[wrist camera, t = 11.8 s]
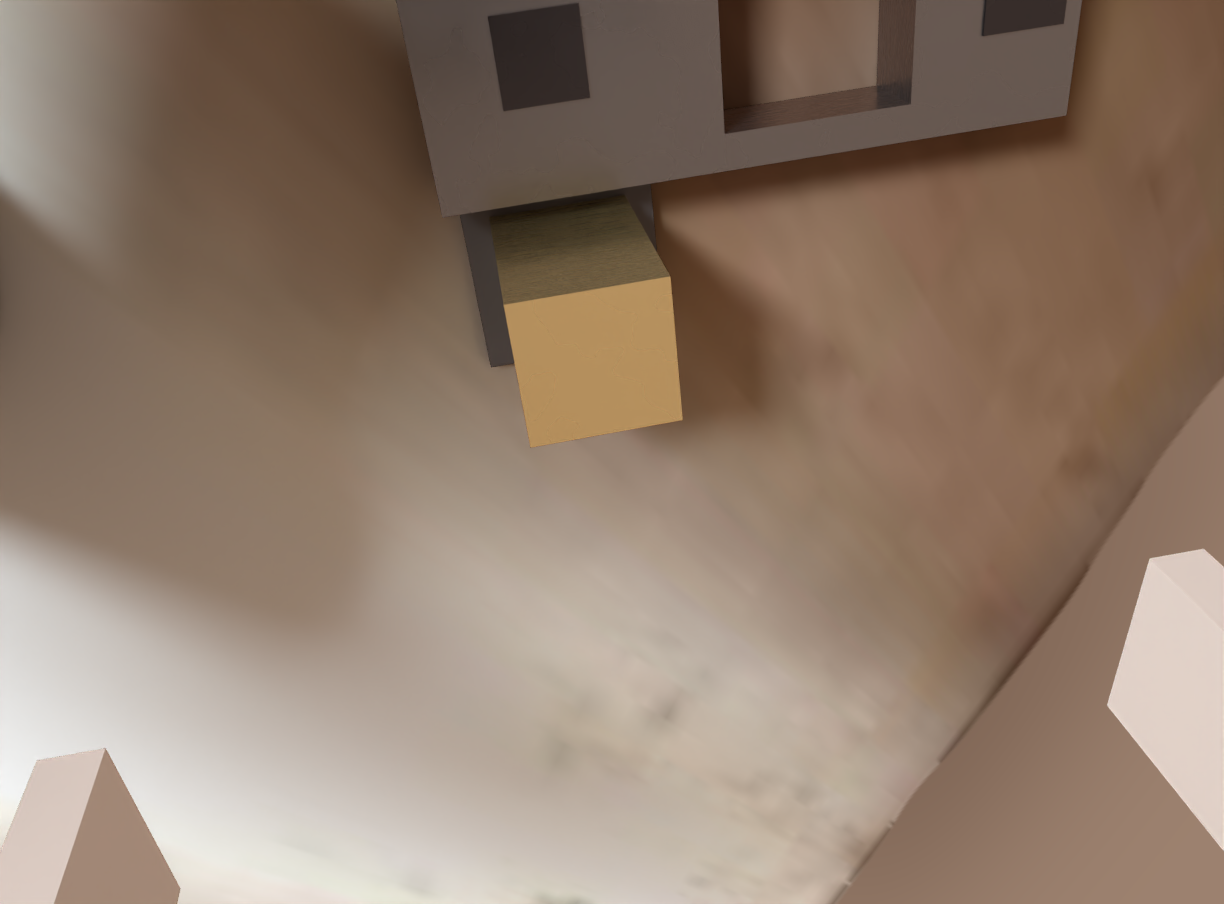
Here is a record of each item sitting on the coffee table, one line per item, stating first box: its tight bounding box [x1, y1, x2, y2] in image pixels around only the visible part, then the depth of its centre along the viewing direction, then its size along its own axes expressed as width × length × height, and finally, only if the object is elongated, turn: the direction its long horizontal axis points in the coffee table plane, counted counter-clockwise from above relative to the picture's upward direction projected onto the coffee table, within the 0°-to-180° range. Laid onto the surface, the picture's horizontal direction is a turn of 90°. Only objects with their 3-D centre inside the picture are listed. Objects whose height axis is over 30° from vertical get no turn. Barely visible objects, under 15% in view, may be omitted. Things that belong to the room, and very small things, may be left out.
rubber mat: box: [460, 184, 657, 367], centre depth 37 cm, size 7×7×1 cm
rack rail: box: [396, 0, 1082, 218], centre depth 32 cm, size 22×9×3 cm, turn 97°
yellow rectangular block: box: [489, 195, 683, 448], centre depth 33 cm, size 5×5×8 cm
